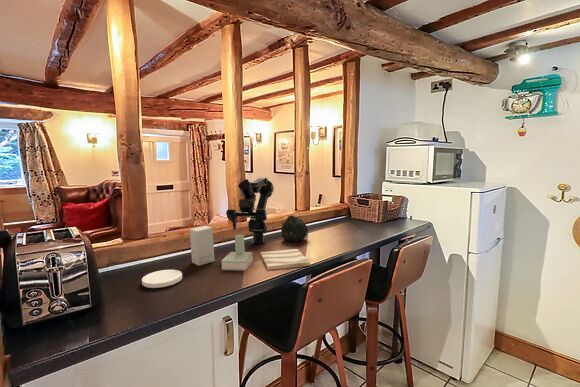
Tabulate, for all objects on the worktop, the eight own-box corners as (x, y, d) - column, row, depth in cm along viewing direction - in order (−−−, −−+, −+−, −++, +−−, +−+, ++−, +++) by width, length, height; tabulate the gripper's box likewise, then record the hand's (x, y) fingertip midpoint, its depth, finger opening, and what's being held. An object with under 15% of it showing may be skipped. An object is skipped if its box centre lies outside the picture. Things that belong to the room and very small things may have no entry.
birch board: (260, 255, 146) (260, 252, 146) (297, 252, 150) (297, 249, 150) (267, 269, 127) (267, 266, 126) (309, 265, 131) (309, 262, 131)
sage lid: (230, 255, 139) (229, 234, 138) (252, 255, 138) (251, 234, 137) (221, 264, 127) (220, 241, 126) (245, 264, 126) (244, 241, 125)
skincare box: (207, 258, 143) (206, 225, 142) (215, 261, 139) (213, 227, 137) (191, 262, 138) (188, 228, 136) (198, 266, 133) (196, 230, 131)
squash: (312, 227, 178) (294, 208, 177) (311, 234, 163) (292, 214, 163) (294, 243, 181) (277, 224, 180) (292, 252, 166) (273, 231, 165)
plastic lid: (189, 276, 122) (189, 270, 121) (168, 291, 108) (167, 284, 108) (158, 274, 125) (157, 268, 125) (133, 288, 111) (133, 282, 111)
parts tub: (230, 260, 139) (230, 254, 139) (252, 260, 138) (252, 254, 138) (222, 270, 128) (221, 262, 127) (245, 270, 126) (245, 263, 126)
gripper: (226, 192, 148) (219, 220, 138) (264, 192, 145) (260, 220, 136) (231, 206, 156) (225, 233, 146) (268, 206, 154) (264, 233, 144)
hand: (243, 229), depth 143 cm, fingers open, 9 cm apart
